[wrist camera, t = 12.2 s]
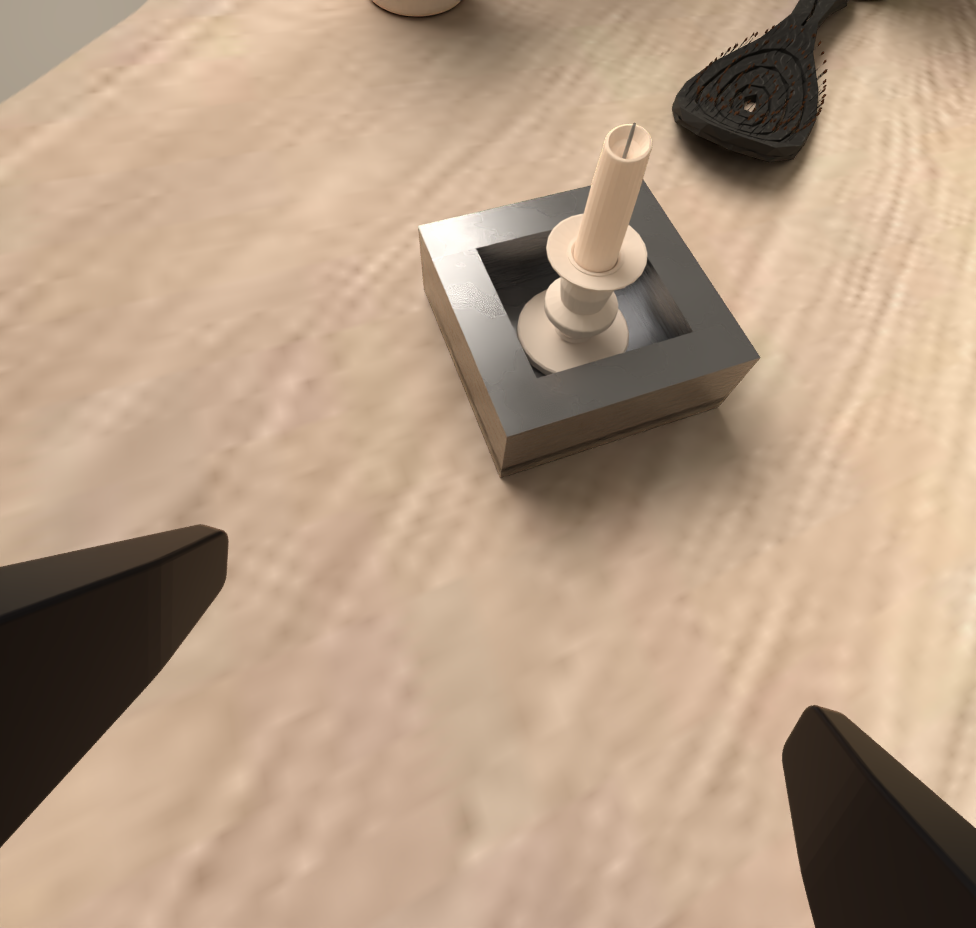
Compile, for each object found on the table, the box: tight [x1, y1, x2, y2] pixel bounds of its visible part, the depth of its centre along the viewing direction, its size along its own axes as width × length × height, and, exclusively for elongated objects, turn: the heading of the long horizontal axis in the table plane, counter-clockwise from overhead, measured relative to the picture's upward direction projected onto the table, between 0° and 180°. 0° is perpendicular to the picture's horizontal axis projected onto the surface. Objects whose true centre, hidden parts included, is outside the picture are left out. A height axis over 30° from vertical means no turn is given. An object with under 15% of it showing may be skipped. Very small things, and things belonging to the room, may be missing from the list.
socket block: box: [418, 180, 760, 478], centre depth 25 cm, size 11×11×4 cm
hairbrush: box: [672, 0, 848, 162], centre depth 36 cm, size 8×4×25 cm
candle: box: [517, 123, 652, 375], centre depth 21 cm, size 5×5×10 cm
